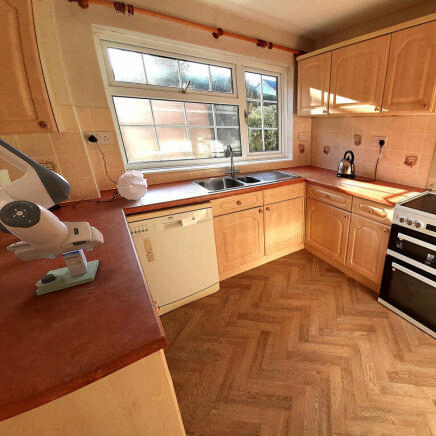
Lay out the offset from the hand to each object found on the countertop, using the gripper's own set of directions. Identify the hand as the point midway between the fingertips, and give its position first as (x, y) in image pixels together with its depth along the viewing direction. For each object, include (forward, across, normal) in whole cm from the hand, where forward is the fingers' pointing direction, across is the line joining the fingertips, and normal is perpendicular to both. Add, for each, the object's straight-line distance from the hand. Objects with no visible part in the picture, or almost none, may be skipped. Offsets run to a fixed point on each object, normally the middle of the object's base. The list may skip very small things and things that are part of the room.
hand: (72, 252), depth 82 cm
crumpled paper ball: (+78, +15, +65) cm, 103 cm away
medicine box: (+5, 0, -5) cm, 7 cm away
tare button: (0, -7, -8) cm, 10 cm away
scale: (+5, -2, -7) cm, 9 cm away
